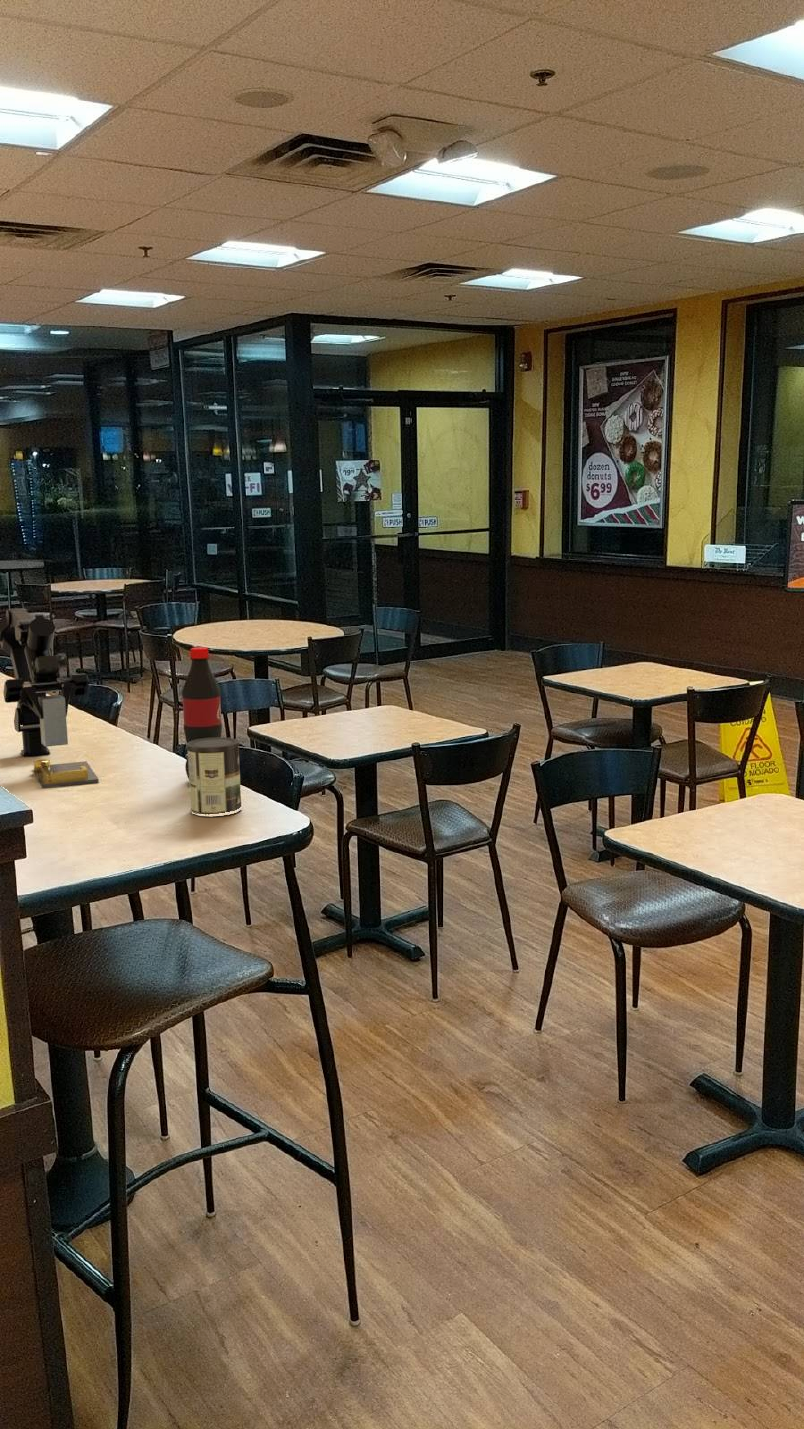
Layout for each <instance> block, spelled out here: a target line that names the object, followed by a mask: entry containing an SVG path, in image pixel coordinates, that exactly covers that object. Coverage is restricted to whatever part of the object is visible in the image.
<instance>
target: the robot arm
mask: <svg viewBox="0 0 804 1429" xmlns="http://www.w3.org/2000/svg"><path fill="white" fill-rule="evenodd" d="M55 635H56V625H55V623H53V621H52V620H50V619H48V618H45V616H44V614H36V615H34V617H33V616H32V614H30V613H29V610H28V608H24V607H23V608H22V607H21V608H9V609H7V610H6V613H5V615H4V616H3V617H2V618H0V647H1V650H2V651H3V652H4V653H6V654H7V655H8V656H10V659H11V660H10V661H11V664H12V669H13V673H14V675H15V678H10V679H6V680H5V681H4V685H3V698H4V702H5V703H6V704H8V703H17V705H16V708H15V709H14V710H15V711H14V719H13V725H14V726H13V727H14V730H15V731H16V732H18V733H21V736H22V737H21V738H22V748H23V749H20V753H21V754H22V757H29V756H32V757H33V756H42V755H51V751H50V749H49V748H48V747H45V746H44V745H43V744H42V742H41V728H40V719H43V713H42V709H41V707H40V704H39V700H38V697H41V696H47V693H48V692H49V693H51V692H61V695H62V696H63V697H65V707H66V718H67V716H68V709H69V702H70V700H74V698H76V697H85V696H86V695H87V694H88V690H89V685H90V679H89V676H88V675H87V674H86V673H73V674H69V677H68V678H69V679H68V680H65V681H64V680H62V681H60V680H59V678H60V675H61V674H60V670H61V669H65V668H66V667H68V659H67V658H68V657H67V655H66V653H65V652H60V653H57V654H56V655H54V654H52V653H51V650H52V648H53V644H54V639H55Z"/></svg>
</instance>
